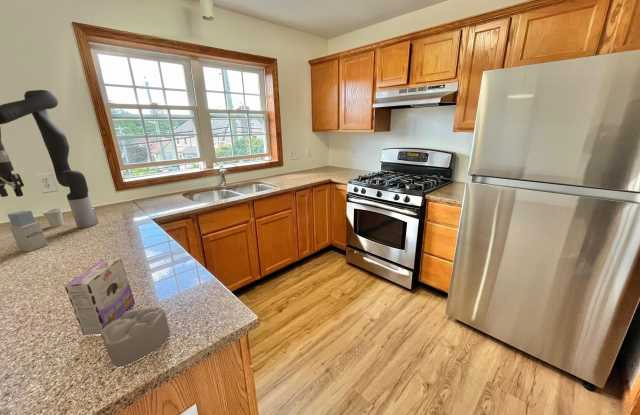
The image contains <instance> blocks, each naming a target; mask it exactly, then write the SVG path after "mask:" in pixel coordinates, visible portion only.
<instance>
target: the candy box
mask: <svg viewBox="0 0 640 415" xmlns="http://www.w3.org/2000/svg"><path fill="white" fill-rule="evenodd" d="M64 289H65V290H66V293H67V296H68V298H69V301H70V304H71V306H72V309H73V311H74V313H75V317H76V319H77V322H78V325H79V327H80V328H81V332H82V334H83V336H84V335H89V334H90V335H91V334H101V331H102V329H103V328H104V327H105V326H106V325H108V324H110V323H111V322H113V321H115V320H117V319H119V318H121V317H122V315H123V314H124V313H125V312H126V311H127V310H128V309H129V308H130V307H131V306H132V307H133V305H134V304H135V303H136V302H135V298H134V295H133V292H132V289H131V286H130V283H129V280H128V277H127V273H126V270H125V268H124V264H123V261H122V258H121V257H120V258H119V257H117V258H110V259H107V258H106V259H101V260H100V261H98V262H97V263H95V264H94V265H93V266H91V267H89V268H88V269H86V270H85V271H84V272H82V273H81V274H80V275H79V276H77V277H75V278H74V279H73V280H71V281H70V282H69V283H67V284H65V285H64ZM132 304H133V305H132ZM132 307H131V308H132ZM131 308H130V309H131ZM130 309H129V310H130ZM129 310H128V311H129Z"/></svg>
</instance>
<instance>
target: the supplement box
mask: <svg viewBox="0 0 640 415" xmlns="http://www.w3.org/2000/svg"><path fill="white" fill-rule="evenodd" d="M9 229H10V231H11V234H12V236H13V238H14V241H15V244H16V246H17V248H18V250H19V252H32V251H35V250H38V249H40V248H43V247H46V246H48V242H47V240H46V237H45V235H44V232H43V229H42V227H41V224H40V222H39V221H35V223H32V224H29V225H25V226H22V227H21V226H12V225H11V226H9Z"/></svg>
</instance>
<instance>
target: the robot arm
mask: <svg viewBox="0 0 640 415" xmlns="http://www.w3.org/2000/svg"><path fill="white" fill-rule="evenodd" d="M23 97H24V99H21V100H17V101H12V102H6V103H2V104H0V125H4V124H8V123H9V124H10V123H11V122H13V121H16V120H18V119H21V118H23V117H26V116H28V115H30V114H31V115H32V116H33V119H34V121H35V123H36V125H37V127H38V130H39V133H40V135H41V137H42V140H43V142H44V145H45V148H46V150H47V153H48V155H49V158H50V160H51V162H52V163H51V164H52V166H53V170H54V174H55V178H56V181H57V182H58V184H59V185H60V186H62V187H66V188H69V193H67V195H66V200H67V201H68V205H69V207H70V208H69V209H70V210H71V213H72V217H73V219H74V222H75V224H76V228H78V229H85V228H90V227H93V226H95V225H97V224H99V219H98V216H97V213H96V211H95V208H94V207H93V206H92V204H91V200H90V197H89V188H88V184H87V180H86V177H85V175H84V174H83V172H81V171H79V170H71V167H70V165H69V159H68V158H69V154H70V144H69V142H68V139H67V137H66V134H65V133H64V132H63V130H62V129H61V128H59V127H58V125H56V123H54V122H53V120H52V119H51V118H50V115H49V113H48V111H47V110H52V109H55V108H56V107H57V106H58V105H59V100H58V97H57V96H56V95H55V94H54V93H53V92H51V91H49V90H45V89H34V90H27V91H26V92H25V93H24V96H23ZM14 170H15V168H14V166H13V164H12V162H11V159H10V157H9V155H8V153H7V151H6V149H5V147H4V145H3V142H2V130H1V127H0V197H1V198H5V197H8V196H9V194H8V192H7V189H6V188H5V187H6V185H7V186H10V187H11V188H12V190H13V192H14V194H15V196H16V197H19V198H20V197H23V196H24V192H23V191H22V188H23V187H25V184H24V182H23V180H22V177H21V175H20V173H14V174H13V173H12V172H14Z"/></svg>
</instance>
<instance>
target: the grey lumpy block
mask: <svg viewBox="0 0 640 415" xmlns="http://www.w3.org/2000/svg"><path fill="white" fill-rule="evenodd" d="M170 330H171V329H170V327H169V323H168V320H167V316H166V313H165V309H164V308H162V307H160V306H152V307H151V306H150V307H146V308H139V309H138V310H137V309H129V310H128V311H127V312H125V313H124V314H123V315H122V317H121V318H119V319H117V320H115V321H113V322H111V323H110V324H108V325H106V326H105V327H104V328H103V329H102V331H101V336H100V337H101V338H102V341H103V345H104V347H105V349H106V353H107V355H108V357H109V356H110V358H111V359H110V358H109V359H110V360H111V362H112V366H113V365H114V366H116V367H120V366H121V367H122V366H125V365H128V364H130V363H133V362H134V361H137V360H139V359H140V358H143V357H144V356H147V355H148V354H150V353H151V352H153V351H155V350H156V349H157V348H159V347H160V346H161V345H162V344H163V343H164V342H165V343H166V341H167V340H168V339H167V337H168V336H169V337H170V335H169V333H170V334H171V331H170ZM169 337H168V338H169ZM166 339H167V340H166ZM165 340H166V341H165ZM165 343H164V344H165ZM164 344H163V345H164ZM163 345H162V346H163ZM162 346H161V347H162ZM161 347H160V348H161ZM160 348H159V349H160ZM156 351H157V350H156ZM156 351H155V352H156ZM150 355H151V354H150ZM147 357H148V356H147ZM114 366H113V367H114Z"/></svg>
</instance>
